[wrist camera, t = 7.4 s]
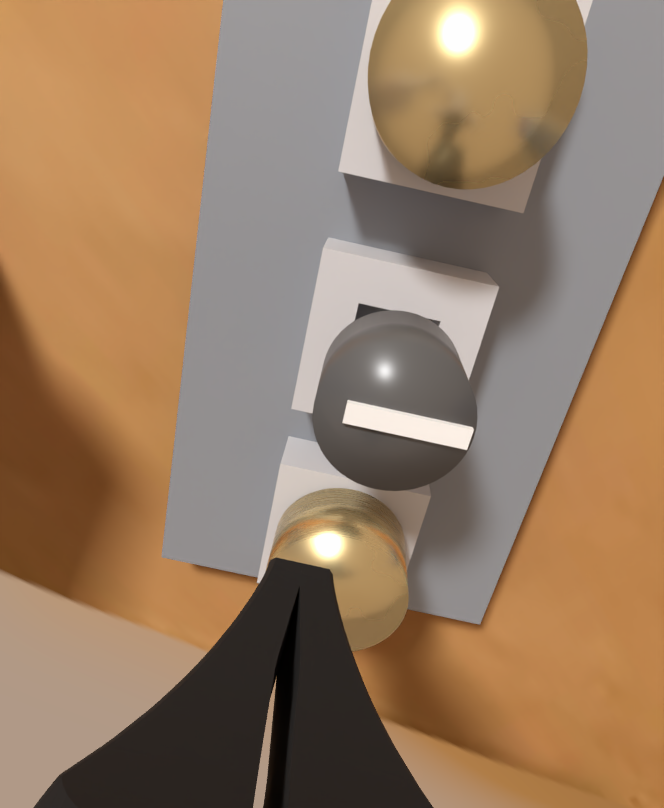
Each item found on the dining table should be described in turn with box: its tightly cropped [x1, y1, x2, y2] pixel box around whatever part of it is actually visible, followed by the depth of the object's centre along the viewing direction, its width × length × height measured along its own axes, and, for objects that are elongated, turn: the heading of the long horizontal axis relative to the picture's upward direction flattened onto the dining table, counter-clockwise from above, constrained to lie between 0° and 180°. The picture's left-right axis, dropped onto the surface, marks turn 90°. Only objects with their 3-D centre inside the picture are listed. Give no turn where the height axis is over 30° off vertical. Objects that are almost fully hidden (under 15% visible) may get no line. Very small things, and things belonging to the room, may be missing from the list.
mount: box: [162, 0, 664, 624], centre depth 19 cm, size 13×22×4 cm, turn 168°
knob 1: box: [265, 488, 409, 651], centre depth 20 cm, size 4×4×5 cm
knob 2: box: [368, 0, 588, 189], centre depth 14 cm, size 4×4×5 cm
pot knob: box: [313, 310, 478, 491], centre depth 15 cm, size 4×4×5 cm
